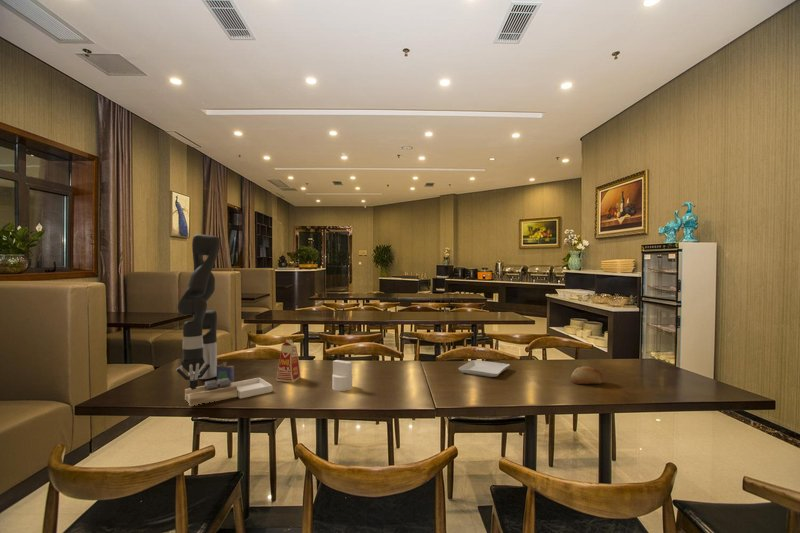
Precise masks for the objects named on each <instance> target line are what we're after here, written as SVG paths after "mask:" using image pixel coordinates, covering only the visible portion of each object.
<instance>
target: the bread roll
mask: <svg viewBox="0 0 800 533" xmlns="http://www.w3.org/2000/svg"><path fill="white" fill-rule="evenodd" d="M604 380H605V378H604V375H603V373H602V372H601V370H599V369H597V368H596V367H593V366H586V365H585V366H583V365H582V366H579V367H576V368H575V369H574V371H573V372H572V373H571V375H570V381H571V382H572V383H573V384H577V385H583V384H584V385H586V384H602V383H604Z"/></svg>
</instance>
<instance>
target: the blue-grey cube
mask: <svg viewBox="0 0 800 533" xmlns="http://www.w3.org/2000/svg"><path fill="white" fill-rule="evenodd" d="M217 382H218V389H220V388H225V387H230V379H228V378H223V379H217Z"/></svg>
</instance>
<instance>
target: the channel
mask: <svg viewBox="0 0 800 533" xmlns="http://www.w3.org/2000/svg"><path fill="white" fill-rule="evenodd" d="M237 397H238V396H237V386H231V382H230V387H225V388H220V389H215V390H209V391H205V385H201V386H197V387H196V389H193V390H192V389H191V388H190V387H189V388H184V401H185V400H186V401H187V402H188V403H189V404H188V403H187V402H186V401H185V402H186V403H187V404H188V406H189V407H194V405H195V406H199V405H198V404H200V405H203V404H202V403H205V404H208V403H209V402H210V403H215V402H218V401H219V402H220V401H222V400H223V401H225V400H228V399H234V398H237ZM214 401H215V402H214ZM210 403H209V404H210Z"/></svg>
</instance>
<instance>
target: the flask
mask: <svg viewBox="0 0 800 533" xmlns="http://www.w3.org/2000/svg"><path fill="white" fill-rule="evenodd" d="M227 363H228V362H227V361H226V362H225V361H223V362H222V363H220V364H217V366H216V367H217V376H216V379H215V380H216V381H217V379H223V378H228V379H230V382H231V383H232V382H235V366H234V365H227Z"/></svg>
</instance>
